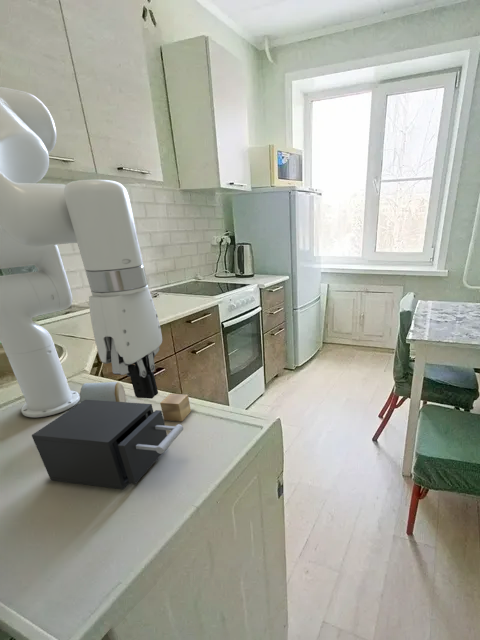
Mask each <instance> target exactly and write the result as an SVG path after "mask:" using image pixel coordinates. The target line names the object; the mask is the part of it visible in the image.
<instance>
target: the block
mask: <svg viewBox="0 0 480 640" xmlns="http://www.w3.org/2000/svg"><path fill="white" fill-rule="evenodd" d="M159 404H160V405H159V406H160V408H161V411H162V415H163V420H164V421H171V422H184V420H185V419H186V418H187V417H188V416H189V415H190V413H192V410H191V403H190V399H189V394H183V393H169V394H168V395H167V396H166V397H165V398H163V400H161V401H160V402H159Z"/></svg>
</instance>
